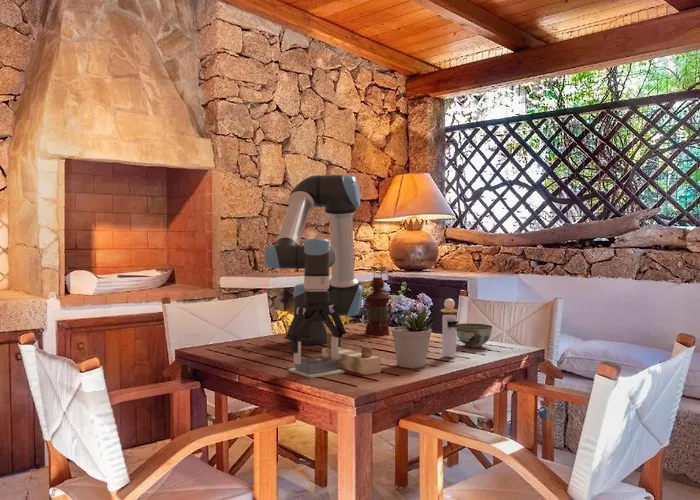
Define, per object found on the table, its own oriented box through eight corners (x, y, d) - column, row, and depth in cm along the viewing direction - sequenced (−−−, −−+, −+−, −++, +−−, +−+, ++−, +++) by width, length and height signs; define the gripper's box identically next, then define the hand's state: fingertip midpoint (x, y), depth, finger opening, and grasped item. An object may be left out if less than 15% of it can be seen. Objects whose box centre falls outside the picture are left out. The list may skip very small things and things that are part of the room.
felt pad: (288, 370, 183) (288, 368, 183) (321, 366, 190) (321, 364, 190) (311, 378, 173) (311, 375, 173) (344, 372, 181) (344, 370, 181)
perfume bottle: (437, 356, 207) (437, 298, 206) (450, 355, 209) (451, 297, 209) (447, 359, 202) (447, 299, 201) (461, 358, 204) (461, 298, 204)
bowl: (477, 351, 217) (477, 329, 217) (447, 346, 227) (447, 325, 227) (499, 347, 226) (499, 325, 226) (470, 342, 236) (470, 322, 236)
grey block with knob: (295, 369, 182) (295, 358, 182) (322, 365, 188) (322, 354, 188) (310, 374, 176) (310, 362, 176) (337, 369, 182) (337, 358, 182)
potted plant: (405, 372, 182) (405, 305, 182) (384, 363, 195) (384, 301, 194) (441, 368, 187) (441, 303, 187) (418, 360, 200) (419, 299, 199)
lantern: (382, 337, 248) (382, 264, 248) (357, 334, 255) (357, 263, 255) (396, 333, 259) (397, 263, 258) (372, 331, 265) (372, 262, 265)
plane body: (321, 362, 195) (321, 333, 195) (336, 360, 199) (336, 331, 199) (365, 374, 178) (365, 342, 178) (380, 372, 182) (380, 340, 181)
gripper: (287, 293, 171) (287, 368, 171) (357, 289, 186) (356, 358, 186) (274, 291, 177) (273, 363, 177) (342, 287, 192) (342, 354, 192)
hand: (316, 361), depth 182 cm, fingers open, 13 cm apart
